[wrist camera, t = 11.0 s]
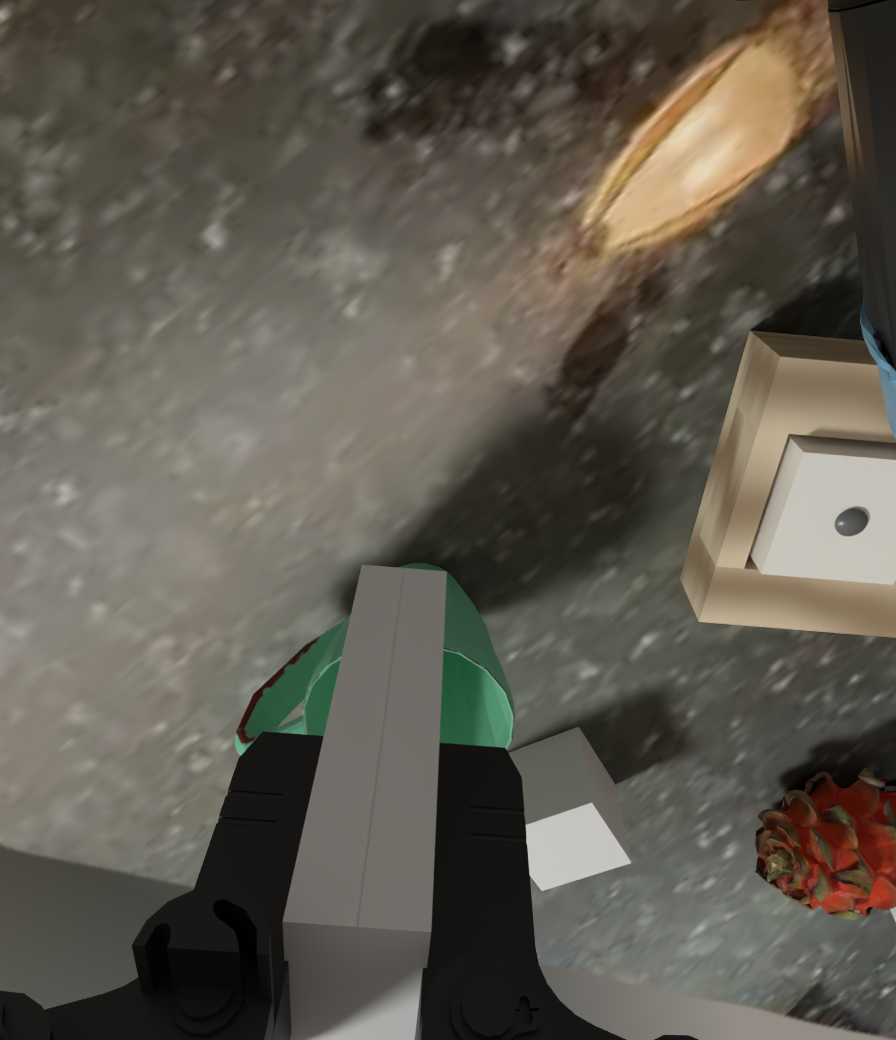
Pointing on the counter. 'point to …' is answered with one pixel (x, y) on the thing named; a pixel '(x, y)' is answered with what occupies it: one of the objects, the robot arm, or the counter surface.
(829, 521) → the key one
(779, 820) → the dragon fruit
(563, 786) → the white cube
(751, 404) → the key panel
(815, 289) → the counter surface
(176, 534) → the counter surface
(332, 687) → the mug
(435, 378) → the counter surface
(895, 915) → the white cup
